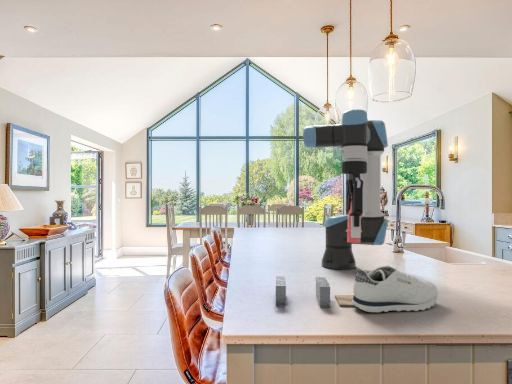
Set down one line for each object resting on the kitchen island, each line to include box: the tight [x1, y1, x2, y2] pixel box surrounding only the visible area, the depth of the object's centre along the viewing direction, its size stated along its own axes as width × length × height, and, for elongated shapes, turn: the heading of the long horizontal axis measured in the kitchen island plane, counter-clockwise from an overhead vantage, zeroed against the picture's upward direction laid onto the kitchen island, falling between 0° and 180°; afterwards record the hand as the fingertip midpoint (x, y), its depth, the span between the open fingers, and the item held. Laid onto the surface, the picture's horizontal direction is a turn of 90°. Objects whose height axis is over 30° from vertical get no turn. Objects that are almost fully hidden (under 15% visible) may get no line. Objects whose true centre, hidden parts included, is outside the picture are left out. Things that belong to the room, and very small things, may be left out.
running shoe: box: [352, 265, 438, 313], centre depth 108 cm, size 11×29×12 cm, turn 112°
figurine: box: [346, 197, 363, 243], centre depth 113 cm, size 5×5×15 cm
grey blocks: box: [275, 276, 331, 308], centre depth 114 cm, size 12×16×6 cm
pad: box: [334, 294, 357, 308], centre depth 113 cm, size 10×10×1 cm
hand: (353, 236), depth 113 cm, fingers closed on figurine, 5 cm apart
